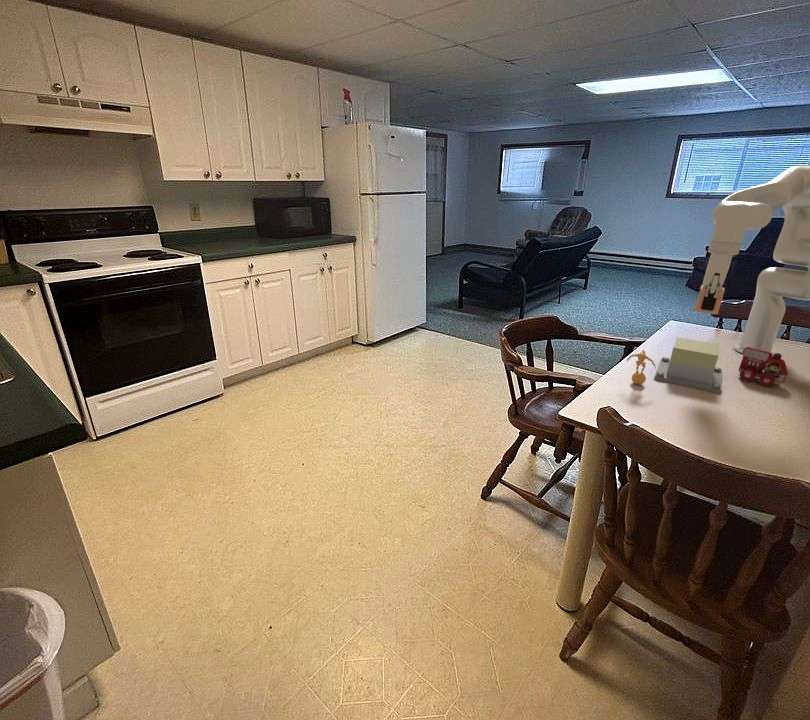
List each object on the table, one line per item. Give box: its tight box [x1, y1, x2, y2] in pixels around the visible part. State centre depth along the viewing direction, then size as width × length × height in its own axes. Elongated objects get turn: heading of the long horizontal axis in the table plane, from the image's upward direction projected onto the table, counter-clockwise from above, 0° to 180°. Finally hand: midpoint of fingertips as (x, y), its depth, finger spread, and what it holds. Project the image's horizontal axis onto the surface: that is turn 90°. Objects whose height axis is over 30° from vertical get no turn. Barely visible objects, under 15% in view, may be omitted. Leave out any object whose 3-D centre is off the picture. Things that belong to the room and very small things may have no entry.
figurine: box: [626, 349, 656, 386], centre depth 136 cm, size 8×6×12 cm
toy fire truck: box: [738, 347, 789, 388], centre depth 140 cm, size 7×12×10 cm, turn 42°
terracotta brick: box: [694, 284, 725, 315], centre depth 134 cm, size 6×6×7 cm
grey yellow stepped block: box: [653, 336, 723, 395], centre depth 142 cm, size 18×18×11 cm
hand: (707, 306), depth 135 cm, fingers closed on terracotta brick, 6 cm apart
